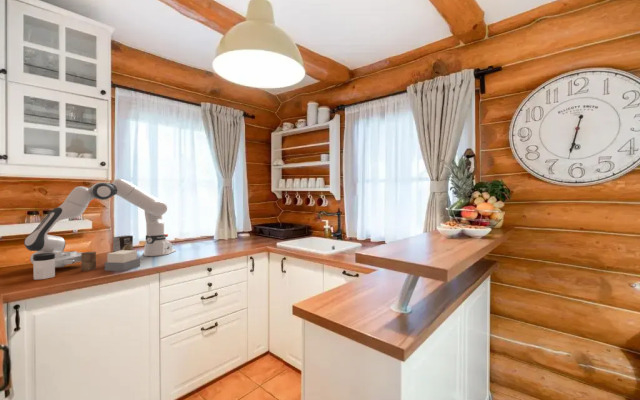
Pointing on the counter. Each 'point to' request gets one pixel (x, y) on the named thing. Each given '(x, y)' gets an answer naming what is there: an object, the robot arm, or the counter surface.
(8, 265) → the counter surface
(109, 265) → the tower base
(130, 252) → the tower top
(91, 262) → the walnut block
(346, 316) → the counter surface
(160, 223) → the robot arm
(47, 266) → the jar
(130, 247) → the coffee box
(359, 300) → the counter surface
